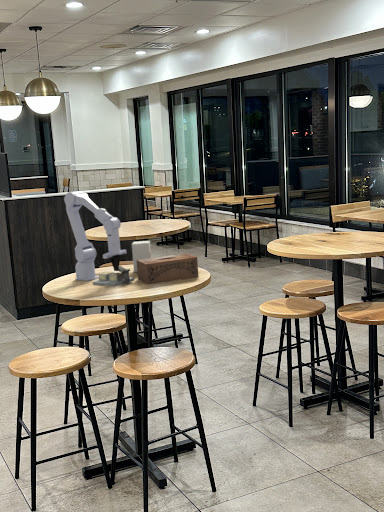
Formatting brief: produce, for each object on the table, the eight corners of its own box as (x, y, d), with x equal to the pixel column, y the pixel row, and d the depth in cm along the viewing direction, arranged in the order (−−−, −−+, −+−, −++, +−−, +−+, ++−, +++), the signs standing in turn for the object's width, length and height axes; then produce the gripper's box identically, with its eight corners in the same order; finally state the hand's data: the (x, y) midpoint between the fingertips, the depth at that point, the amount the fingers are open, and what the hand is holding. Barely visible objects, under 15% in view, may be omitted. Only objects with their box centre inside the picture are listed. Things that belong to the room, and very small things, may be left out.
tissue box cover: (187, 272, 319) (185, 253, 317) (198, 277, 306) (197, 256, 304) (138, 280, 310) (136, 260, 308) (147, 285, 296) (146, 264, 295)
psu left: (98, 280, 309) (98, 273, 308) (107, 277, 313) (107, 271, 313) (106, 281, 306) (105, 274, 305) (115, 278, 311) (114, 271, 310)
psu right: (109, 281, 304) (108, 274, 304) (118, 278, 309) (117, 272, 309) (117, 281, 301) (116, 275, 301) (125, 279, 306) (125, 272, 306)
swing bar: (114, 269, 315) (113, 265, 315) (121, 268, 317) (120, 264, 316) (123, 274, 299) (123, 270, 299) (131, 273, 300) (130, 269, 300)
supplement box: (151, 271, 328) (148, 242, 325) (133, 272, 328) (131, 244, 326) (152, 268, 337) (150, 240, 334) (135, 269, 337) (133, 241, 335)
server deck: (92, 284, 306) (91, 272, 305) (112, 278, 317) (111, 267, 316) (120, 287, 295) (119, 275, 294) (140, 280, 306) (139, 269, 305)
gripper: (109, 245, 299) (112, 274, 301) (130, 241, 310) (132, 268, 313) (98, 245, 303) (101, 273, 305) (119, 240, 315) (122, 267, 317)
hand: (116, 270), depth 309 cm, fingers closed, pressing on swing bar
